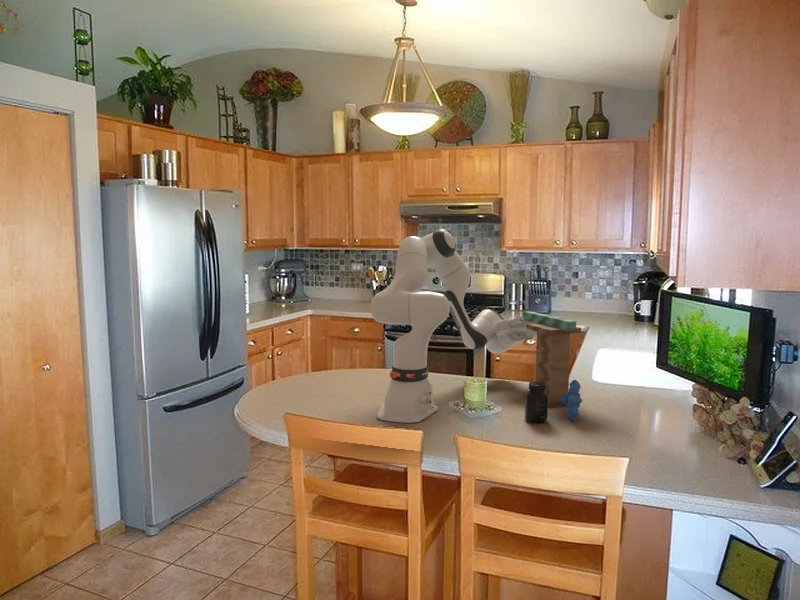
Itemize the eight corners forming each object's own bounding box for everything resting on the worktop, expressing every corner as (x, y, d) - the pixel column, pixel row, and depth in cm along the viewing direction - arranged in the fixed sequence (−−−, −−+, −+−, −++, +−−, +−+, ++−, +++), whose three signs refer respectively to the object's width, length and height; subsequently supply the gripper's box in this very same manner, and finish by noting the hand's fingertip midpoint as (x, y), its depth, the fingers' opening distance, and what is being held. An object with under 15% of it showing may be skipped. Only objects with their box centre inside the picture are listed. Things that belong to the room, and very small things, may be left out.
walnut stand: (525, 396, 209) (526, 324, 206) (553, 393, 213) (555, 321, 210) (549, 407, 196) (551, 330, 193) (578, 403, 201) (581, 328, 197)
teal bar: (523, 319, 216) (523, 311, 216) (530, 319, 217) (530, 311, 217) (568, 330, 192) (568, 321, 192) (576, 330, 193) (576, 321, 193)
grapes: (561, 411, 192) (562, 375, 191) (582, 413, 190) (583, 377, 189) (557, 422, 181) (558, 384, 180) (580, 425, 179) (581, 386, 178)
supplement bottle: (520, 418, 185) (521, 381, 184) (539, 416, 187) (540, 379, 186) (532, 425, 179) (533, 386, 177) (552, 423, 181) (553, 384, 180)
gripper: (487, 325, 222) (504, 311, 211) (533, 322, 230) (552, 308, 218) (491, 341, 220) (509, 328, 208) (537, 337, 228) (557, 324, 216)
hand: (531, 318), depth 213 cm, fingers open, 8 cm apart
